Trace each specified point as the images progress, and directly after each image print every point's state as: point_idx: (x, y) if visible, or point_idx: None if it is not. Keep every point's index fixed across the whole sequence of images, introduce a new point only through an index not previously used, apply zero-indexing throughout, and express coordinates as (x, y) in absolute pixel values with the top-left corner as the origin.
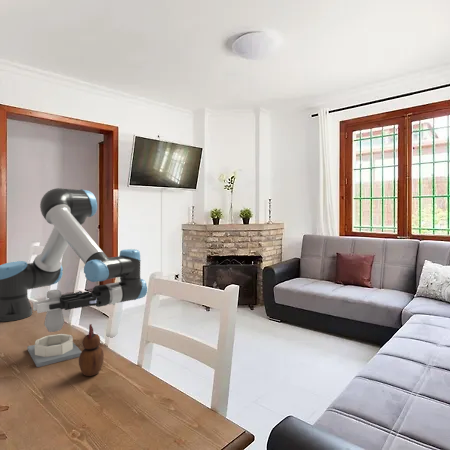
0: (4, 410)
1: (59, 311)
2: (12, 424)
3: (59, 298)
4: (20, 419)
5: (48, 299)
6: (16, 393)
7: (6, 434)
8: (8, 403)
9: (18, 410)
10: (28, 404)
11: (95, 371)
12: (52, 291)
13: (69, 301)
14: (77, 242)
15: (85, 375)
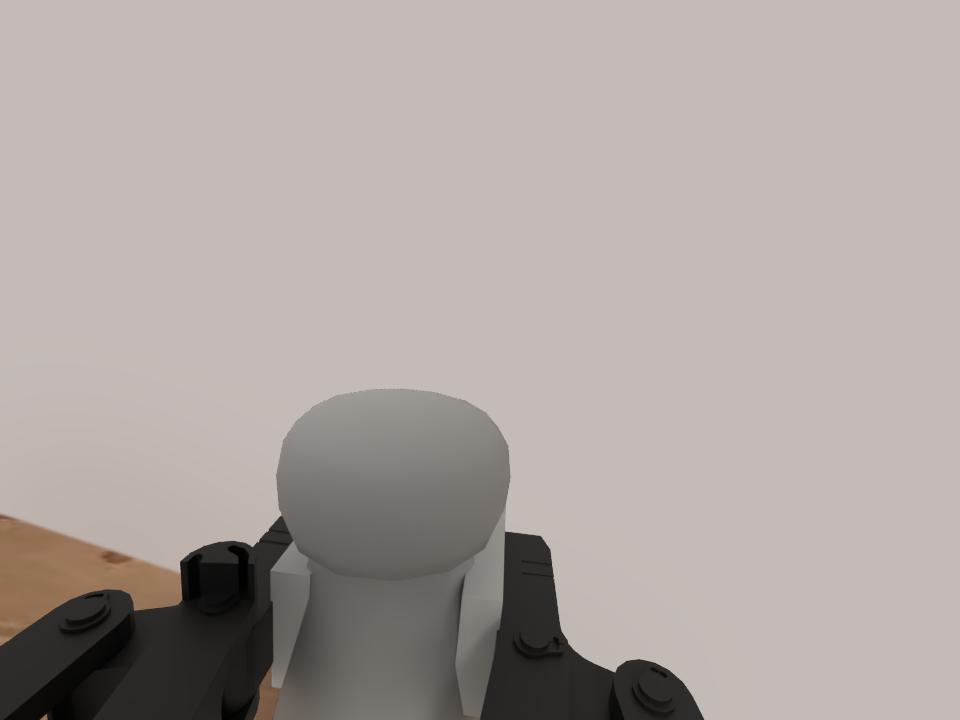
0: (111, 550)
1: (275, 717)
2: (20, 538)
3: (347, 588)
4: (4, 554)
5: (493, 533)
6: (153, 601)
7: (8, 520)
8: (130, 567)
9: (51, 567)
10: (30, 594)
11: None
12: (366, 391)
13: (23, 664)
14: None
15: None
